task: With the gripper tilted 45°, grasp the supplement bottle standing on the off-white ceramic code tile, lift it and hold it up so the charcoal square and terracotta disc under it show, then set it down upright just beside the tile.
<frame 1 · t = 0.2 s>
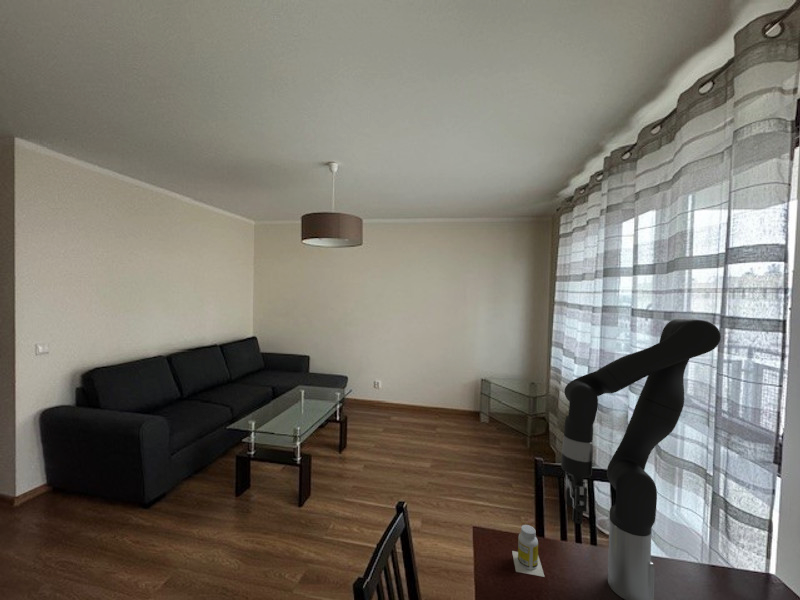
hand: (573, 513, 91), 18 cm above the table, tool pointing down, fingers open, 8 cm apart
code tile: (527, 563, 96), on the table
supplement bottle: (527, 563, 96), resting on code tile
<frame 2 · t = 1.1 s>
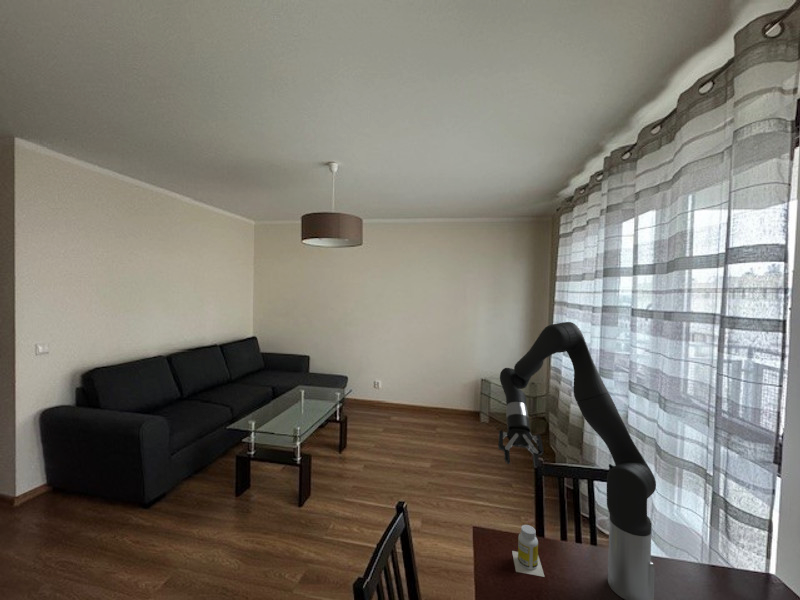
hand: (522, 465, 107), 23 cm above the table, tool tilted 45°, fingers open, 8 cm apart
nothing on the table moved.
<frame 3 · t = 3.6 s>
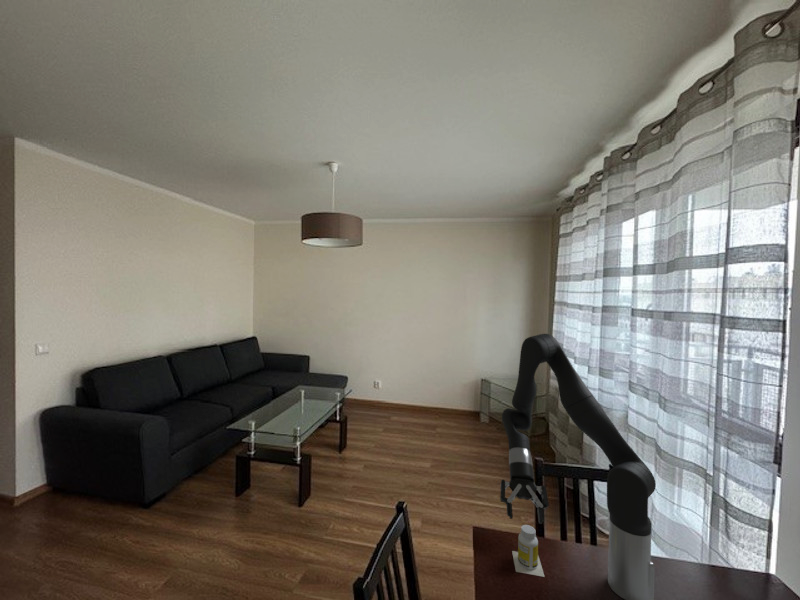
hand: (525, 520, 100), 10 cm above the table, tool tilted 45°, fingers open, 8 cm apart
nothing on the table moved.
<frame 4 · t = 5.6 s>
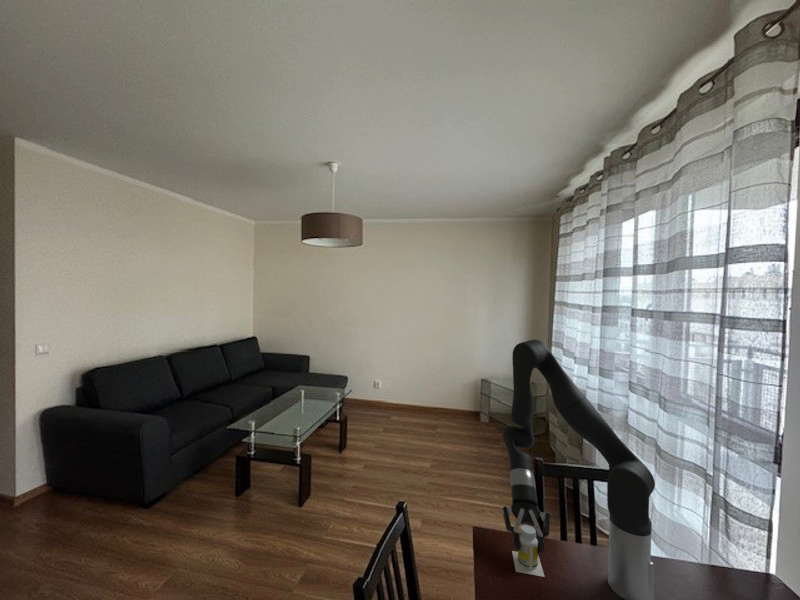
hand: (529, 551, 94), 5 cm above the table, tool tilted 45°, fingers closed on supplement bottle, 5 cm apart
supplement bottle: (527, 563, 96), resting on code tile, touching gripper
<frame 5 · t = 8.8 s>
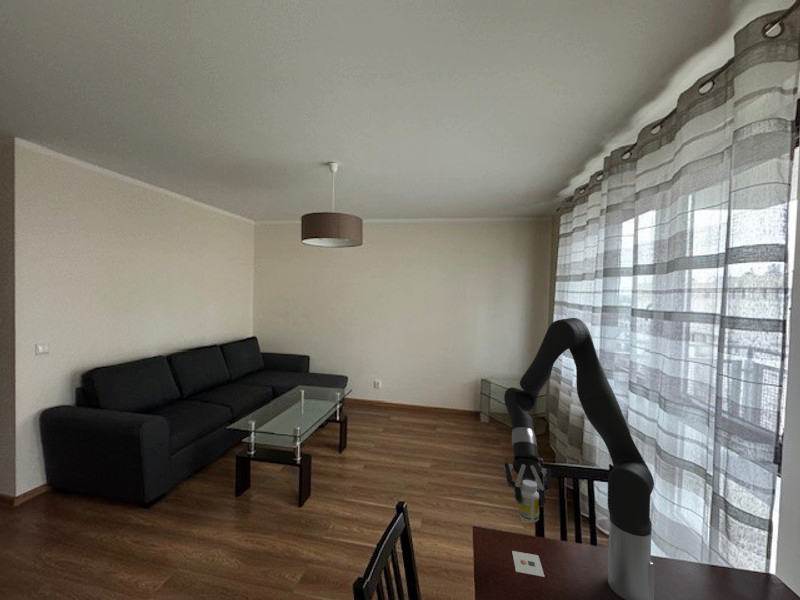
hand: (530, 504, 94), 18 cm above the table, tool tilted 45°, fingers closed on supplement bottle, 5 cm apart
supplement bottle: (528, 517, 96), point 13 cm above the table, touching gripper
when the fingers open (6 cm above the table, at t = 12.2 s): supplement bottle drops 1 cm, on the table.
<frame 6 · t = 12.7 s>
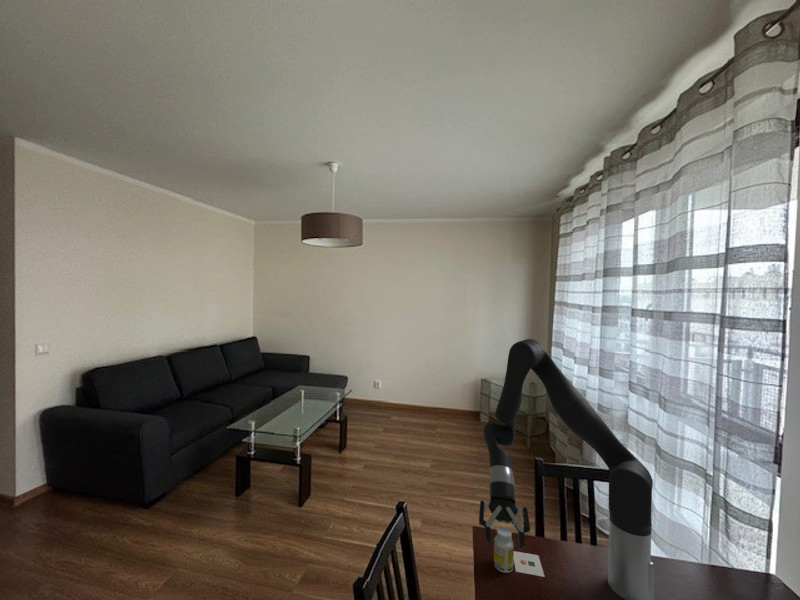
hand: (505, 546, 93), 7 cm above the table, tool tilted 45°, fingers open, 8 cm apart
supplement bottle: (503, 566, 94), on the table
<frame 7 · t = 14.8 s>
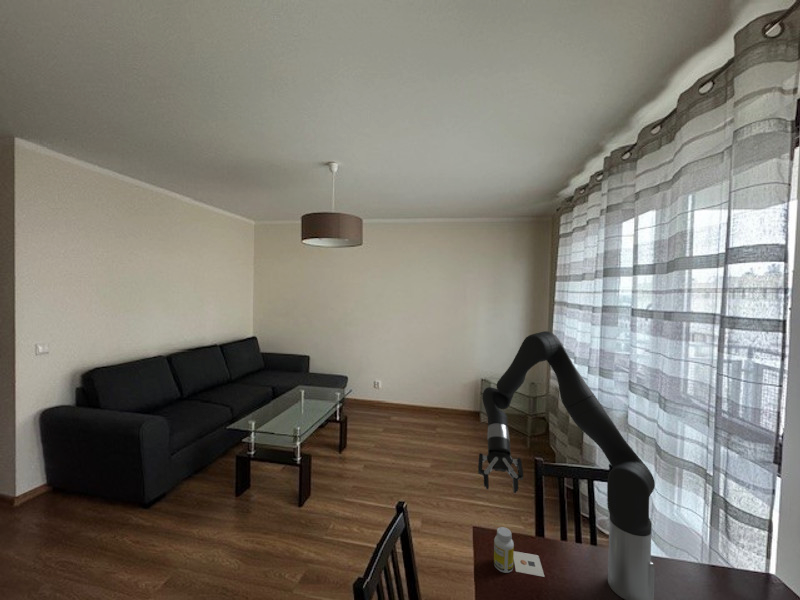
hand: (501, 490, 105), 16 cm above the table, tool tilted 45°, fingers open, 8 cm apart
nothing on the table moved.
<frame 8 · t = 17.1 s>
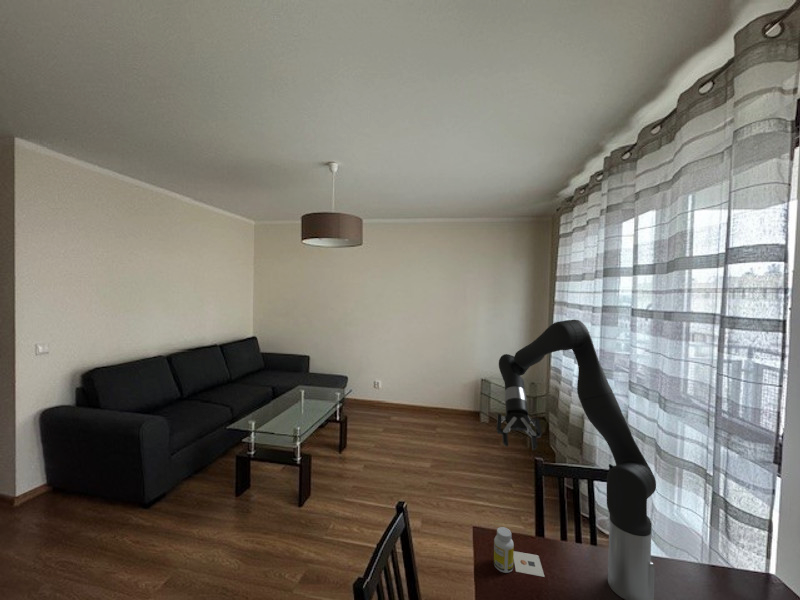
hand: (520, 447, 108), 29 cm above the table, tool tilted 45°, fingers open, 8 cm apart
nothing on the table moved.
at the end: supplement bottle 0.2 cm from the target spot, on the table; supplement bottle tilted 0°; the gripper is holding nothing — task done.
